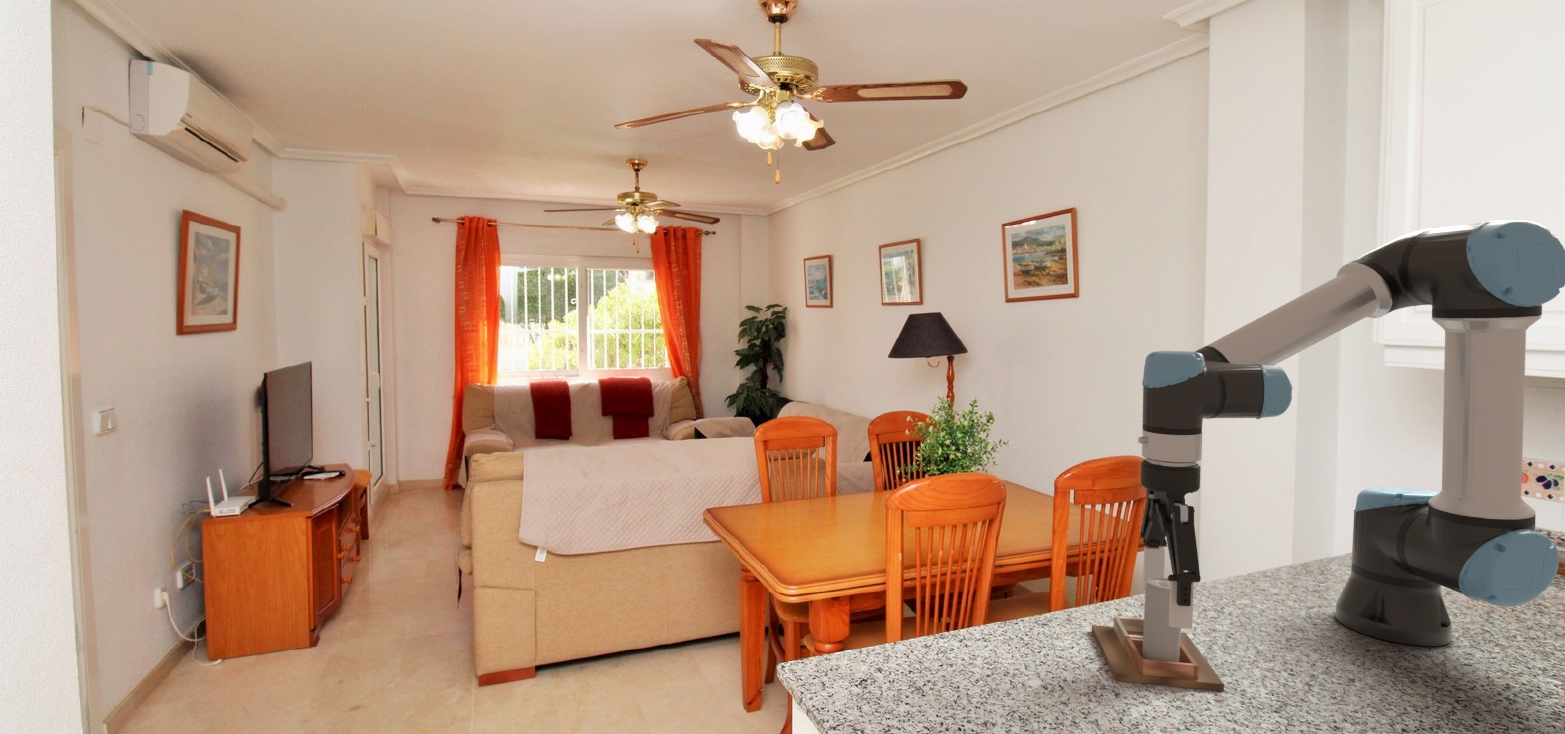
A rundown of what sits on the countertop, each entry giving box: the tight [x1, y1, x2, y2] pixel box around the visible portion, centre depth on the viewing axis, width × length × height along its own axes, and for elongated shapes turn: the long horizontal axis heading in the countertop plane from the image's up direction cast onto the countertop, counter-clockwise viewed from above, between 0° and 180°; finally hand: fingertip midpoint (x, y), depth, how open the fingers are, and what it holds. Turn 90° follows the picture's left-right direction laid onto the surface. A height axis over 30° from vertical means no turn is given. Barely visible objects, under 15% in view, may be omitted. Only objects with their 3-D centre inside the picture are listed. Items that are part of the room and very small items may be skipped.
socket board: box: [1091, 615, 1225, 692], centre depth 116 cm, size 14×17×3 cm
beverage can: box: [1142, 577, 1182, 662], centre depth 112 cm, size 5×5×12 cm
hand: (1165, 607), depth 111 cm, fingers open, 13 cm apart
